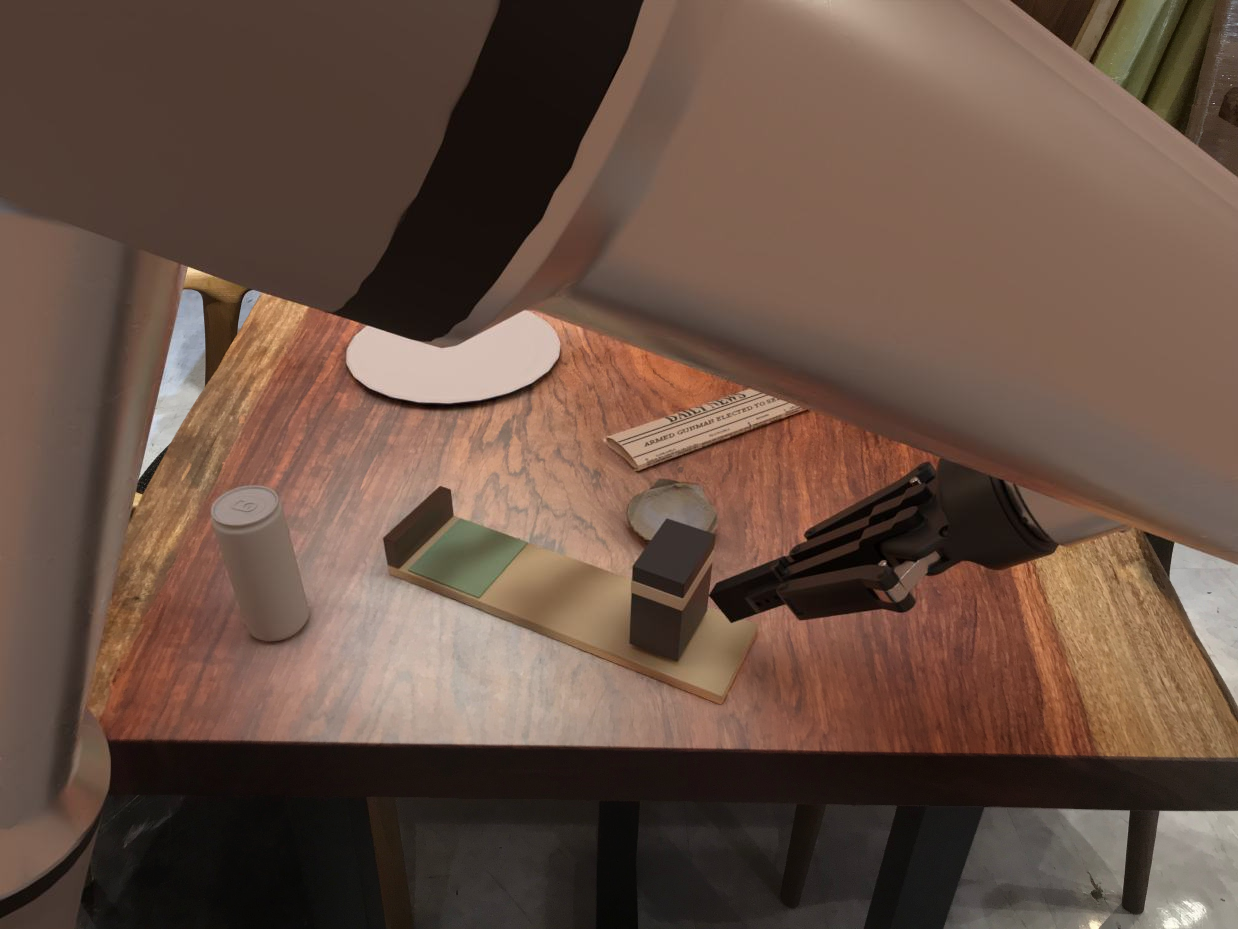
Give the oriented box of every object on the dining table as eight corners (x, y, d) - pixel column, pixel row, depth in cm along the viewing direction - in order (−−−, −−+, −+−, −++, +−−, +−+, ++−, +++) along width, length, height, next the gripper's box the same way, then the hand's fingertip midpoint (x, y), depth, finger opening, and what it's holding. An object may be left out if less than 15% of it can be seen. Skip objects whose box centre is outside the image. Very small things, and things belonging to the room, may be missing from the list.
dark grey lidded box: (708, 610, 71) (716, 533, 66) (677, 663, 66) (684, 584, 62) (660, 593, 72) (666, 517, 67) (627, 644, 68) (631, 565, 63)
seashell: (624, 558, 80) (709, 564, 77) (615, 535, 78) (702, 540, 75) (649, 493, 86) (730, 496, 83) (642, 470, 84) (724, 472, 81)
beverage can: (286, 652, 68) (251, 532, 61) (233, 636, 69) (193, 517, 62) (322, 609, 72) (294, 492, 65) (271, 595, 73) (238, 478, 66)
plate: (495, 291, 120) (495, 282, 119) (602, 369, 104) (602, 359, 103) (314, 339, 108) (312, 330, 107) (402, 436, 92) (401, 426, 91)
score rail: (757, 633, 71) (763, 596, 69) (721, 705, 65) (726, 668, 63) (444, 520, 81) (440, 485, 79) (388, 573, 75) (382, 537, 73)
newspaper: (637, 475, 88) (638, 460, 87) (600, 440, 93) (600, 426, 91) (816, 410, 98) (819, 396, 97) (774, 381, 103) (776, 368, 102)
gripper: (1059, 612, 45) (722, 704, 61) (1077, 476, 55) (781, 585, 70) (978, 500, 44) (655, 623, 60) (1010, 381, 54) (724, 513, 69)
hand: (723, 602), depth 65 cm, fingers closed
